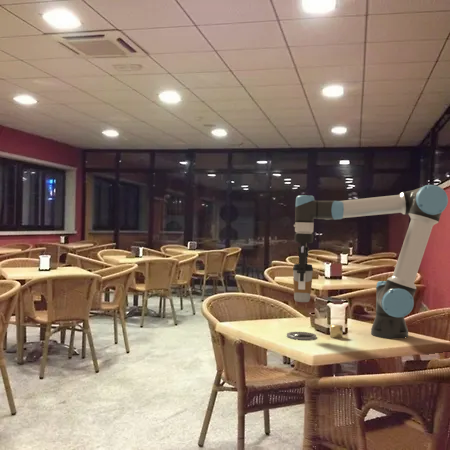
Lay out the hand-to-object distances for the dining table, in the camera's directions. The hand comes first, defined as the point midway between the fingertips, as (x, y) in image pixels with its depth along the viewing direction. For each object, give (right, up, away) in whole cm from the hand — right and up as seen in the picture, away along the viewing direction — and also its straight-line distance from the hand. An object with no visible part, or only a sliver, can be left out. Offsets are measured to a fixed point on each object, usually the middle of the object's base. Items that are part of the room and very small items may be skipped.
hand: (302, 288), depth 217 cm
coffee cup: (0, -6, 0) cm, 6 cm away
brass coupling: (+14, -21, +1) cm, 25 cm away
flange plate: (0, -20, 0) cm, 20 cm away
